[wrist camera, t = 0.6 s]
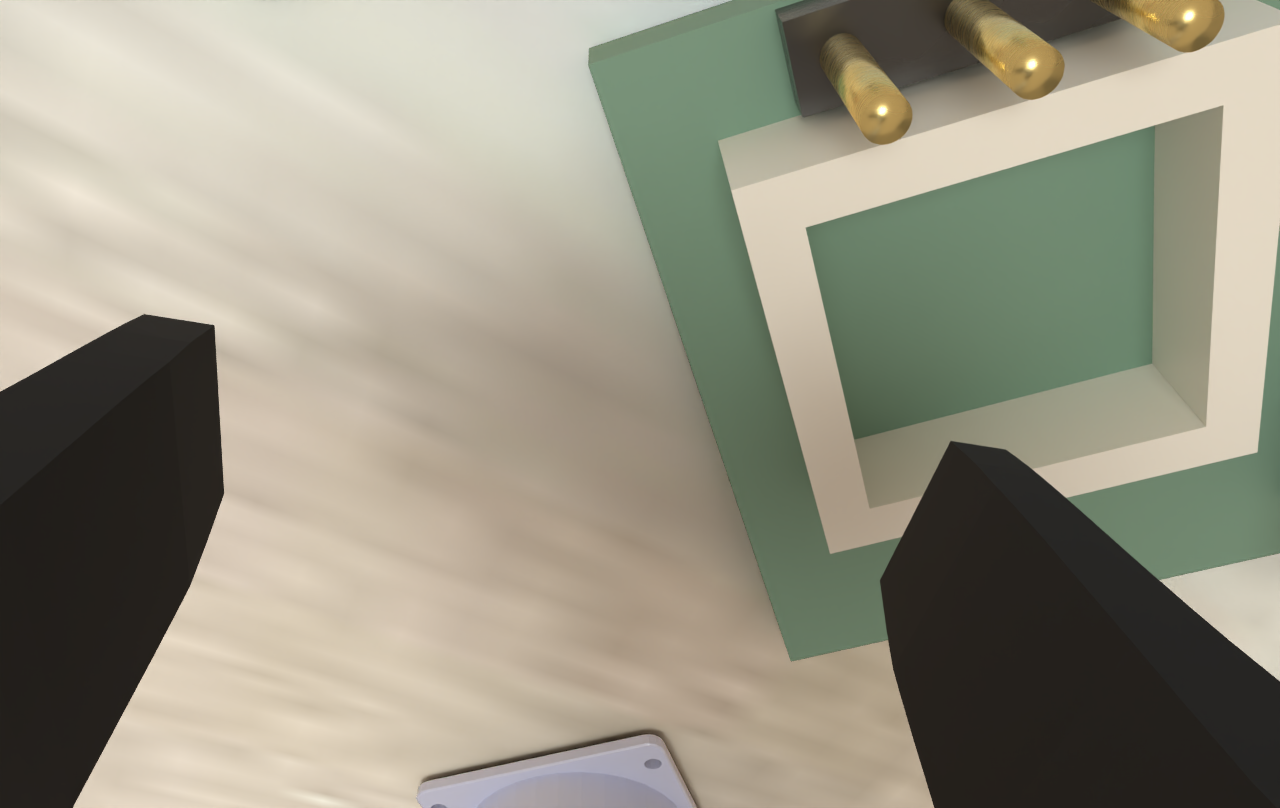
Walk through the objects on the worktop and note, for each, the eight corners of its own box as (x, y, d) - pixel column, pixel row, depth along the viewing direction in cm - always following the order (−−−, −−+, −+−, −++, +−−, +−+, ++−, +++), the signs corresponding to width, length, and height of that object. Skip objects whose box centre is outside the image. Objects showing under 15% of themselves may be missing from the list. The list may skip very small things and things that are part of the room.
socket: (1199, 388, 20) (1257, 452, 18) (811, 485, 22) (829, 554, 20) (1219, -17, 15) (1299, 17, 14) (717, 140, 17) (731, 190, 15)
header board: (1454, 480, 23) (1485, 507, 23) (785, 632, 26) (790, 661, 25) (1663, -311, 14) (1727, -313, 13) (589, 48, 17) (588, 64, 16)
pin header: (1127, -3, 16) (1257, 65, 12) (794, 102, 16) (838, 190, 13) (1128, -108, 15) (1266, -62, 12) (774, 9, 15) (817, 80, 12)
